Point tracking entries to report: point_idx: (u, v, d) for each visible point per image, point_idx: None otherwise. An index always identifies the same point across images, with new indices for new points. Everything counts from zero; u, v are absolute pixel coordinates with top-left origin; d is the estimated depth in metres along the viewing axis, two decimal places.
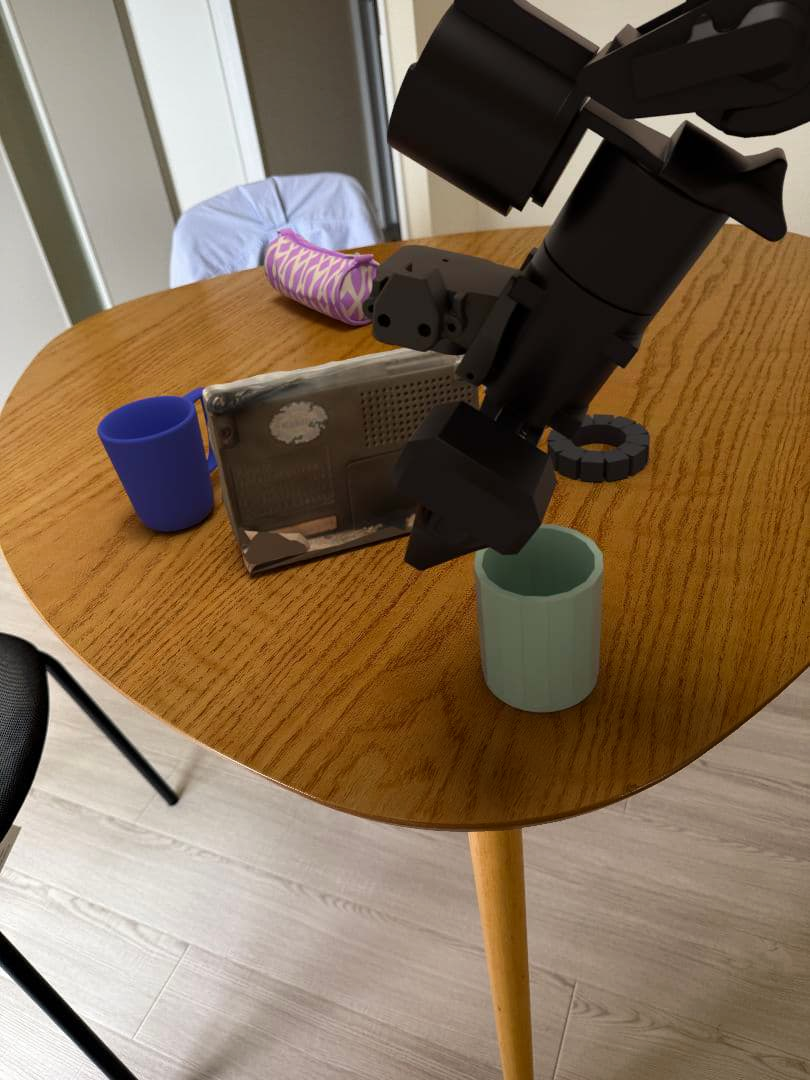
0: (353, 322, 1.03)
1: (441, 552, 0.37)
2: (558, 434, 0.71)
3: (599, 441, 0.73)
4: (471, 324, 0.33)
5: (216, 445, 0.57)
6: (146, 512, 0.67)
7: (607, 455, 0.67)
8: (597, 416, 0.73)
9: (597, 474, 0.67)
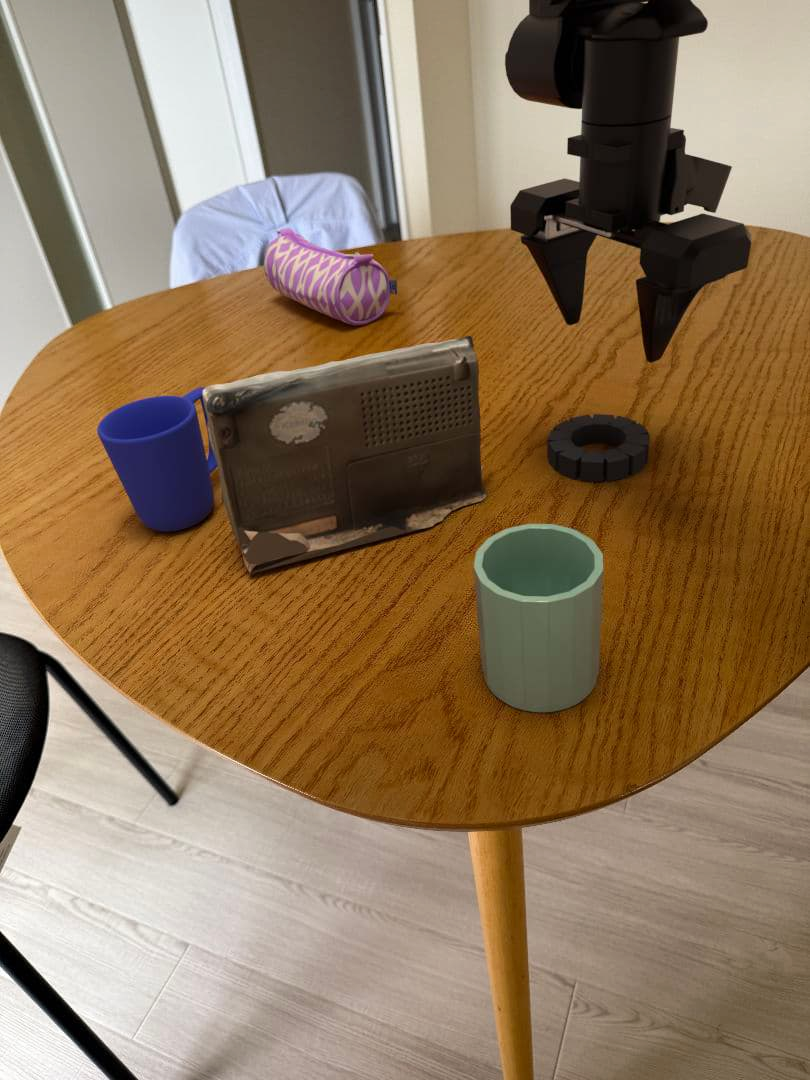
0: (353, 322, 1.03)
1: None
2: (558, 434, 0.71)
3: (599, 441, 0.73)
4: None
5: (216, 445, 0.57)
6: (146, 512, 0.67)
7: (607, 455, 0.67)
8: (597, 416, 0.73)
9: (597, 474, 0.67)
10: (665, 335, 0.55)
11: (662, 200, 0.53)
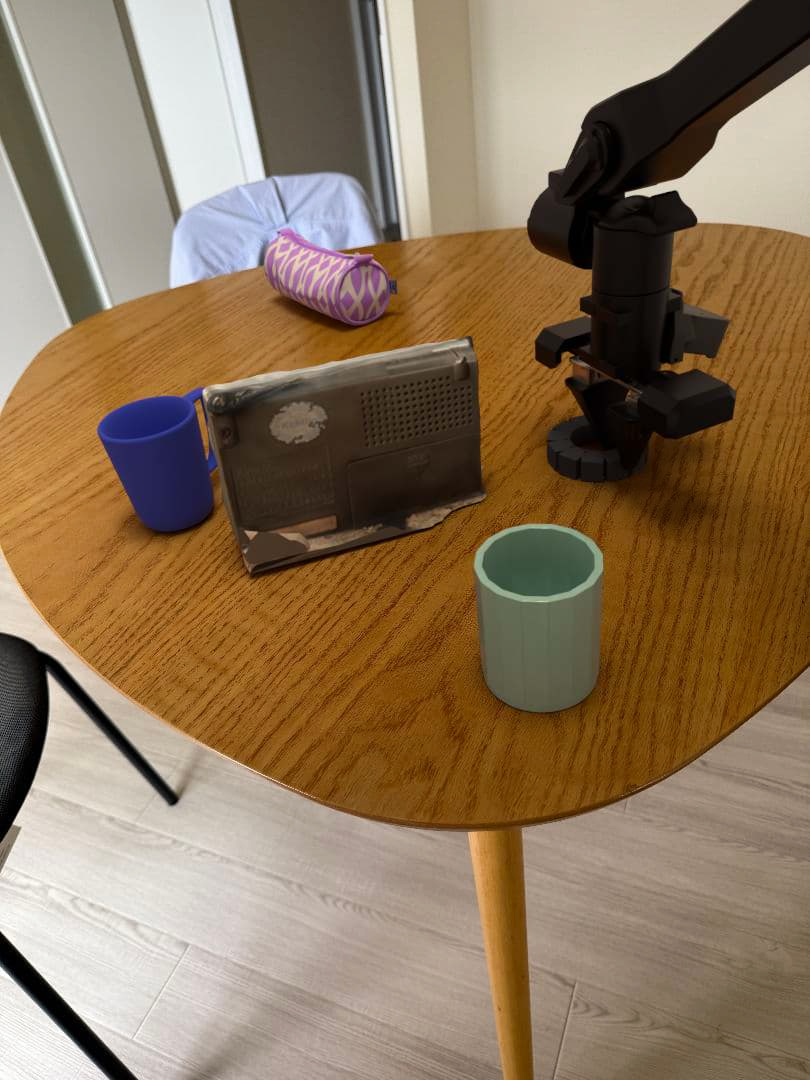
0: (353, 322, 1.03)
1: None
2: (557, 434, 0.71)
3: None
4: None
5: (216, 445, 0.57)
6: (146, 512, 0.67)
7: (607, 455, 0.67)
8: None
9: (597, 474, 0.67)
10: (637, 449, 0.65)
11: (662, 352, 0.60)
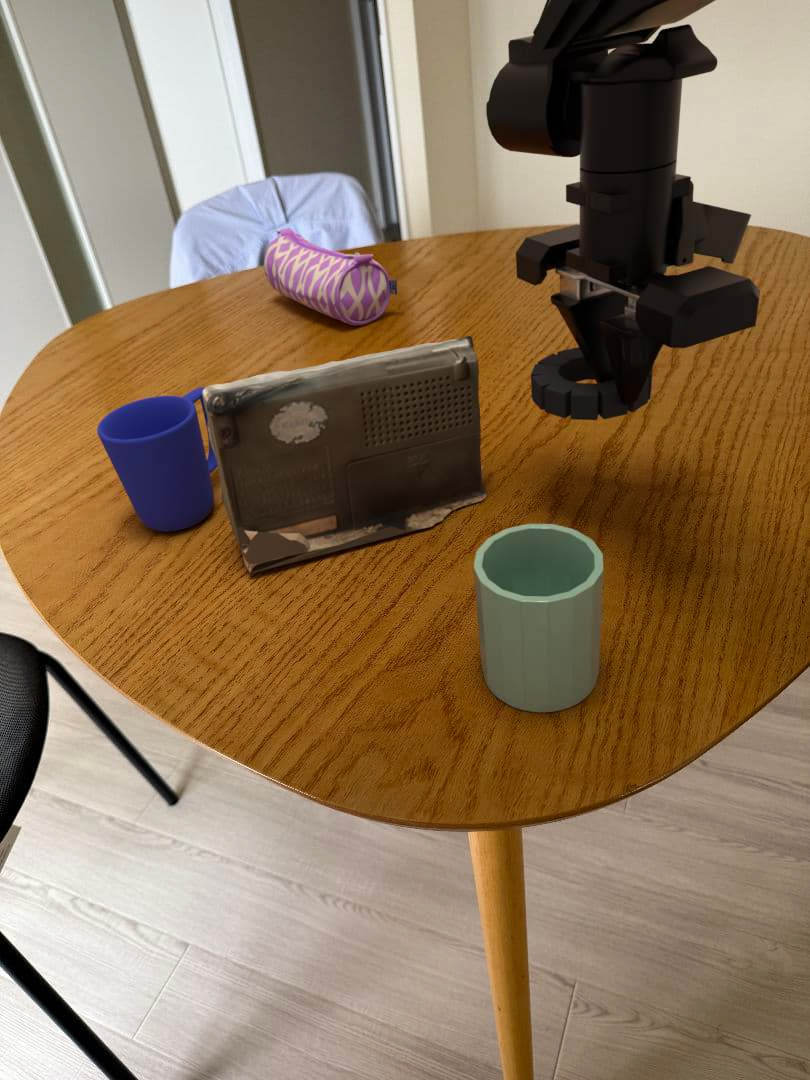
0: (353, 322, 1.03)
1: None
2: (544, 368, 0.60)
3: (592, 377, 0.62)
4: None
5: (216, 445, 0.57)
6: (146, 512, 0.67)
7: (602, 387, 0.56)
8: None
9: (591, 410, 0.56)
10: (638, 377, 0.54)
11: (668, 251, 0.49)
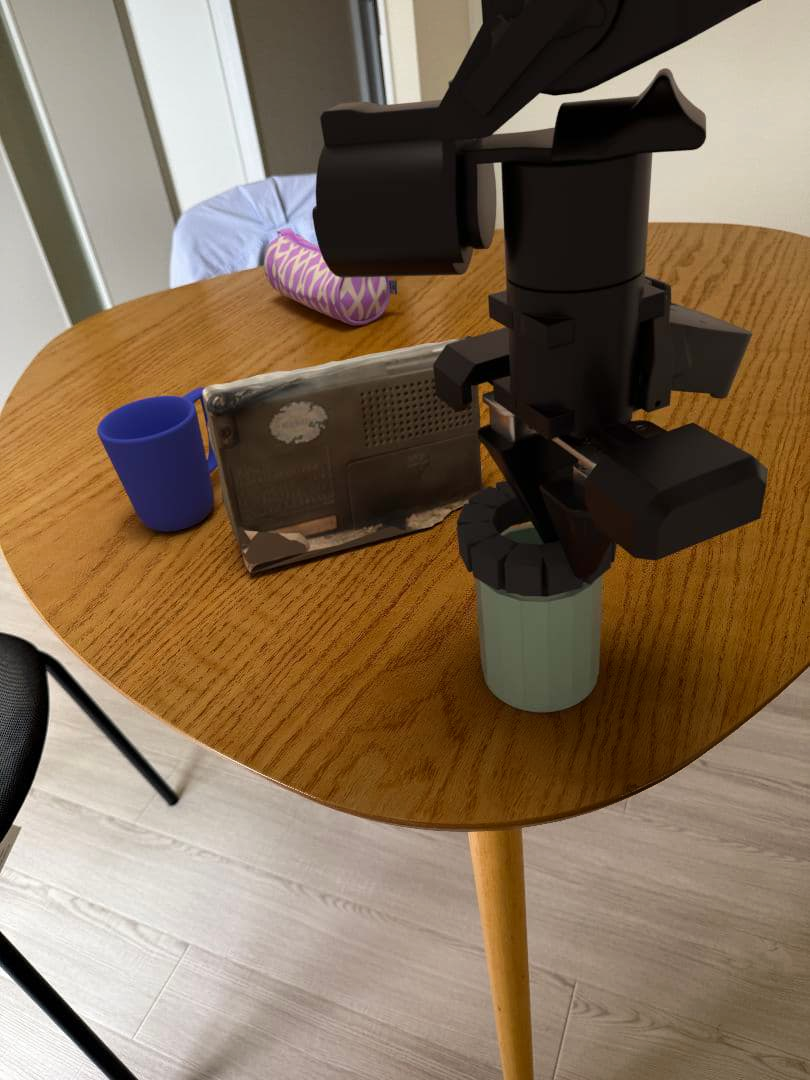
0: (353, 322, 1.03)
1: None
2: (474, 512, 0.45)
3: None
4: None
5: (216, 445, 0.57)
6: (146, 512, 0.67)
7: (548, 553, 0.41)
8: None
9: (532, 584, 0.41)
10: (595, 549, 0.39)
11: (634, 391, 0.34)
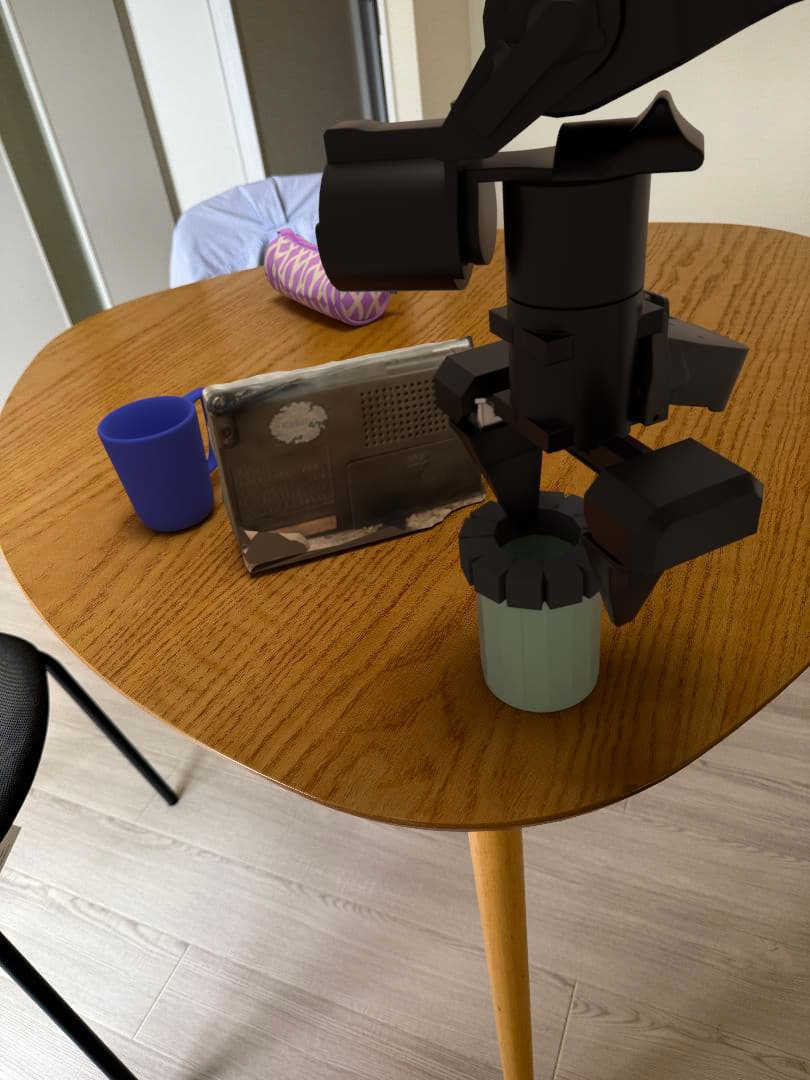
0: (353, 322, 1.03)
1: None
2: (476, 526, 0.46)
3: (542, 533, 0.47)
4: None
5: (216, 445, 0.57)
6: (146, 512, 0.67)
7: (548, 568, 0.42)
8: None
9: (532, 599, 0.42)
10: (636, 597, 0.37)
11: (632, 406, 0.35)
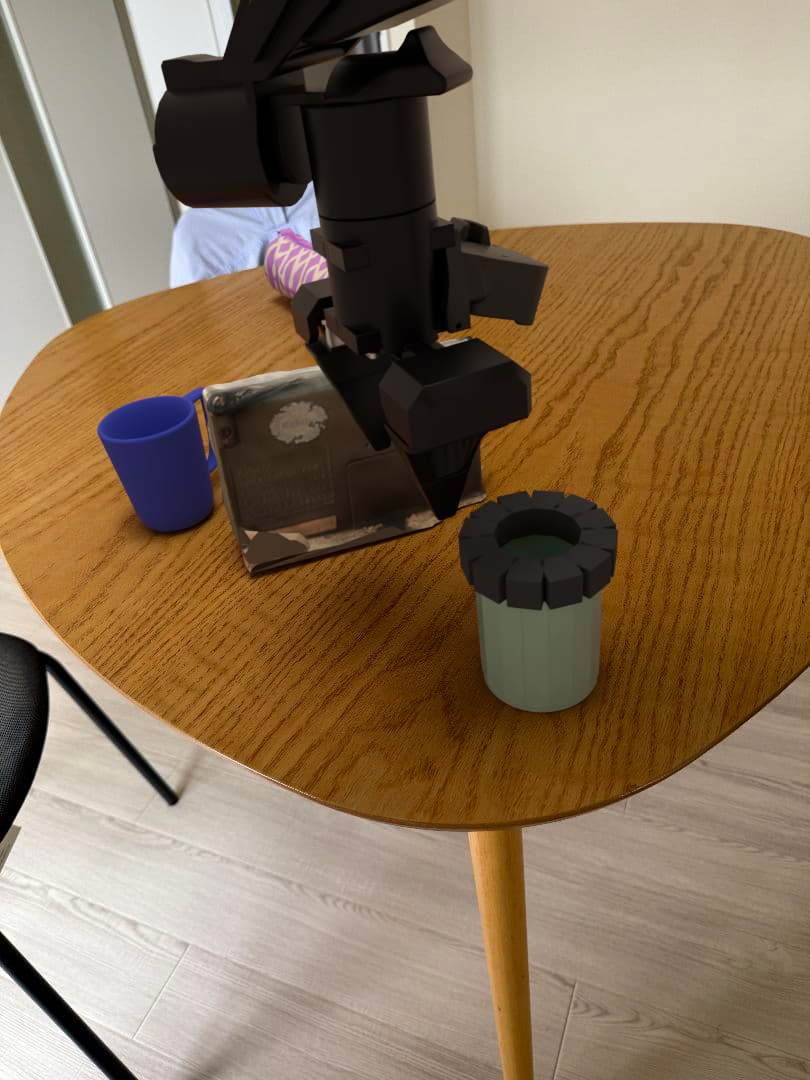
0: None
1: None
2: (476, 526, 0.46)
3: (542, 533, 0.47)
4: None
5: (216, 445, 0.57)
6: (146, 512, 0.67)
7: (548, 568, 0.42)
8: (538, 494, 0.47)
9: (532, 599, 0.42)
10: (449, 490, 0.41)
11: (436, 314, 0.39)
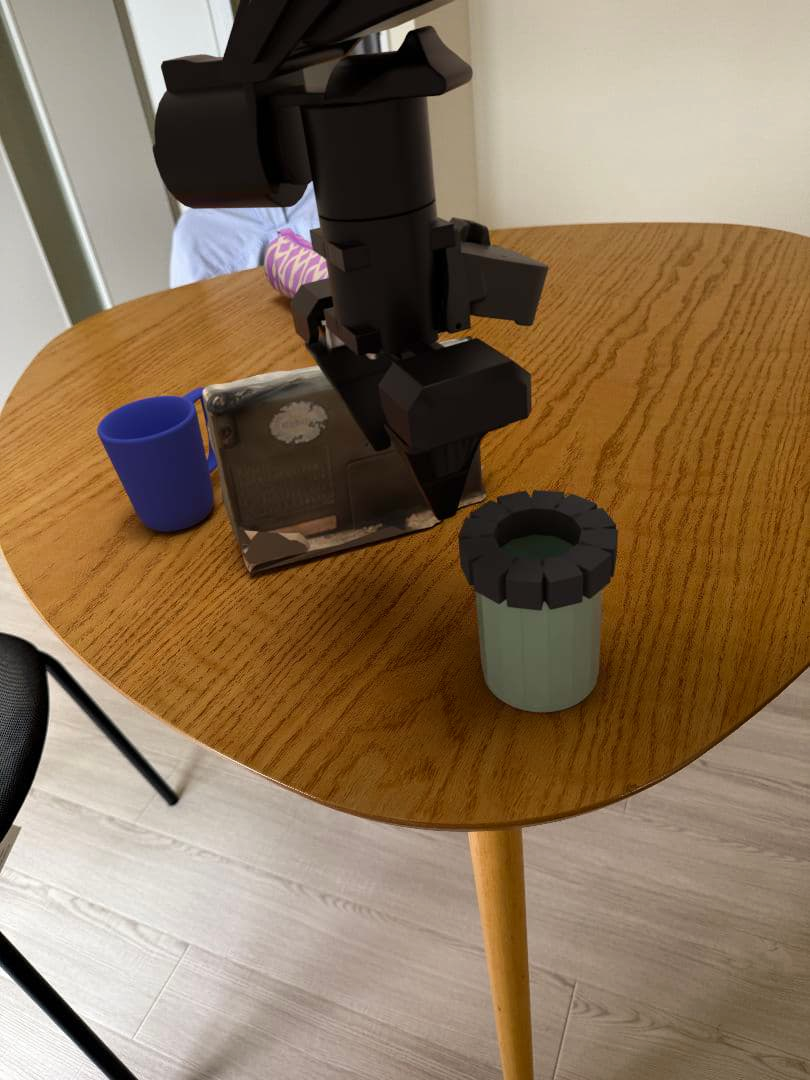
0: None
1: None
2: (476, 526, 0.46)
3: (542, 533, 0.47)
4: None
5: (216, 445, 0.57)
6: (146, 512, 0.67)
7: (548, 568, 0.42)
8: (538, 494, 0.47)
9: (532, 599, 0.42)
10: (449, 490, 0.41)
11: (436, 314, 0.39)
